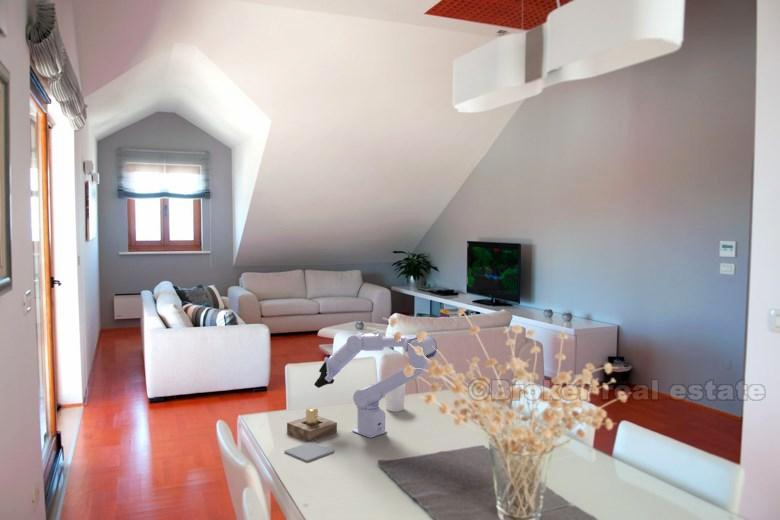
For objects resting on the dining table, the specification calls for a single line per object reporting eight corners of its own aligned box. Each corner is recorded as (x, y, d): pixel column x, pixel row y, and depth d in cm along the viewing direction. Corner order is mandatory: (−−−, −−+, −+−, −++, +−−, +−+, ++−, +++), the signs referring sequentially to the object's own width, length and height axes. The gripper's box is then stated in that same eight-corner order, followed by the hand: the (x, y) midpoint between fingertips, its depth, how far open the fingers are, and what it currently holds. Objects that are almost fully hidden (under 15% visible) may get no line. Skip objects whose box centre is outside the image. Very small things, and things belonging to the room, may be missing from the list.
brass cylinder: (320, 432, 207) (320, 409, 206) (311, 435, 204) (311, 412, 203) (312, 429, 209) (312, 407, 209) (303, 432, 206) (303, 409, 206)
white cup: (408, 408, 234) (409, 382, 234) (398, 413, 228) (398, 387, 227) (391, 404, 239) (391, 379, 238) (380, 410, 232) (380, 384, 231)
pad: (334, 452, 189) (334, 450, 189) (307, 462, 181) (307, 460, 181) (311, 443, 197) (311, 441, 197) (284, 452, 189) (284, 450, 188)
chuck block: (336, 432, 207) (336, 422, 207) (309, 441, 198) (309, 431, 198) (314, 424, 215) (314, 414, 215) (287, 432, 206) (287, 422, 206)
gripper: (337, 339, 217) (314, 360, 223) (328, 363, 205) (305, 385, 210) (352, 350, 219) (329, 371, 225) (344, 375, 206) (321, 397, 212)
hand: (318, 379), depth 218 cm, fingers open, 7 cm apart
